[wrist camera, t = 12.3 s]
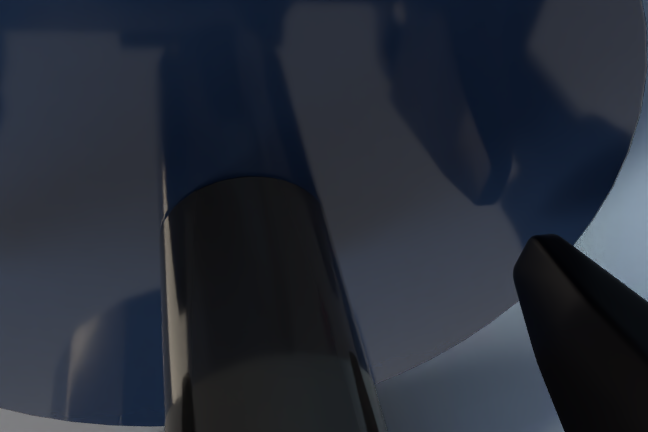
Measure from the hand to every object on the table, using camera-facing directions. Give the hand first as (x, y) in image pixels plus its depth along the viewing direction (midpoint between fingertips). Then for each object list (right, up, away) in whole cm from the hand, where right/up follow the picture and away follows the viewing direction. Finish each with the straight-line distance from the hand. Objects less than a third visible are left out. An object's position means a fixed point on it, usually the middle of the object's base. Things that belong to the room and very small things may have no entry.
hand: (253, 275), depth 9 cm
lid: (0, +1, +1) cm, 1 cm away
